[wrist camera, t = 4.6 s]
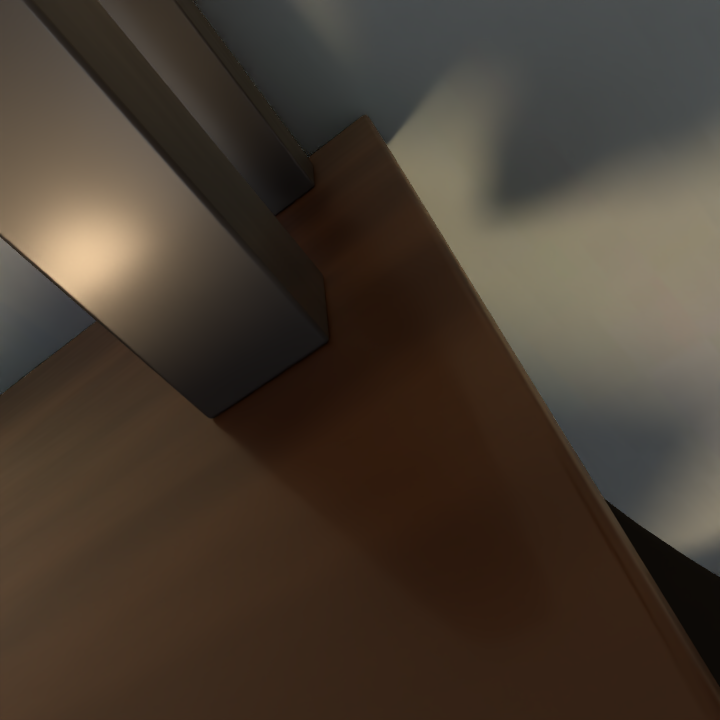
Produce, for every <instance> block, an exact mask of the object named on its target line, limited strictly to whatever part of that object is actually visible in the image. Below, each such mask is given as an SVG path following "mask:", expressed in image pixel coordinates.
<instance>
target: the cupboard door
mask: <svg viewBox="0 0 720 720" xmlns="http://www.w3.org/2000/svg"><path fill="white" fill-rule="evenodd" d="M0 237H1V238H2V239H3V240H4V241H5V242H7V243H8V244H9V245H10V246H11V247H12V248H13V249H15V250H16V251H17V252H18V253H19V254H20V255H21V256H23V257H24V258H25V259H26V260H27V261H28V262H30V263H31V264H32V265H33V266H34V267H35V268H36V269H38V270H39V271H40V272H41V273H42V274H43V275H44V276H46V277H47V278H48V279H49V280H50V281H51V282H53V283H54V284H55V285H56V286H57V287H58V288H59V289H61V290H62V291H63V292H64V293H65V294H66V295H67V296H69V297H70V298H71V299H72V300H73V301H74V302H75V303H77V304H78V305H79V306H80V307H81V308H82V309H84V310H85V311H86V312H87V313H88V314H89V315H90V316H92V317H93V318H94V319H95V320H96V322H95V323H93V324H92V325H91V326H89V327H88V328H87V329H86V330H84V331H83V332H82V333H80V334H79V335H78V336H77V337H75V338H74V339H73V340H71V341H70V342H69V343H67V344H66V345H65V346H64V347H62V348H61V349H60V350H58V351H57V352H56V353H55V354H53V355H52V356H51V357H49V358H48V359H47V360H45V361H44V362H43V363H42V364H40V365H39V366H38V367H36V368H35V369H34V370H32V371H31V372H30V373H29V374H27V375H26V376H25V377H23V378H22V379H21V380H20V381H18V382H17V383H16V384H14V385H13V386H12V387H10V388H9V389H8V390H7V391H5V392H4V393H3V394H1V395H0V720H720V687H719V685H718V684H717V682H716V680H715V679H714V677H713V675H712V674H711V672H710V671H709V669H708V667H707V666H706V664H705V662H704V661H703V659H702V658H701V656H700V654H699V653H698V651H697V649H696V648H695V646H694V645H693V643H692V641H691V640H690V638H689V636H688V635H687V633H686V631H685V630H684V628H683V627H682V625H681V623H680V622H679V620H678V618H677V617H676V615H675V614H674V612H673V610H672V609H671V607H670V605H669V604H668V602H667V601H666V599H665V597H664V596H663V594H662V592H661V591H660V589H659V588H658V586H657V584H656V583H655V581H654V579H653V578H652V576H651V574H650V573H649V571H648V570H647V568H646V566H645V565H644V563H643V561H642V560H641V558H640V557H639V555H638V553H637V552H636V550H635V548H634V547H633V545H632V544H631V542H630V540H629V539H628V537H627V535H626V534H625V532H624V531H623V529H622V527H621V526H620V524H619V522H618V521H617V519H616V517H615V516H614V514H613V513H612V511H611V509H610V508H609V506H608V504H607V503H606V501H605V500H604V498H603V496H602V495H601V493H600V491H599V490H598V488H597V487H596V485H595V483H594V482H593V480H592V478H591V477H590V475H589V474H588V472H587V470H586V469H585V467H584V465H583V464H582V462H581V460H580V459H579V457H578V456H577V454H576V452H575V451H574V449H573V447H572V446H571V444H570V443H569V441H568V439H567V438H566V436H565V434H564V433H563V431H562V430H561V428H560V426H559V425H558V423H557V421H556V420H555V418H554V417H553V415H552V413H551V412H550V410H549V408H548V407H547V405H546V403H545V402H544V400H543V399H542V397H541V395H540V394H539V392H538V390H537V389H536V387H535V386H534V384H533V382H532V381H531V379H530V377H529V376H528V374H527V373H526V371H525V369H524V368H523V366H522V364H521V363H520V361H519V360H518V358H517V356H516V355H515V353H514V351H513V350H512V348H511V346H510V345H509V343H508V342H507V340H506V338H505V337H504V335H503V333H502V332H501V330H500V329H499V327H498V325H497V324H496V322H495V320H494V319H493V317H492V316H491V314H490V312H489V311H488V309H487V307H486V306H485V304H484V303H483V301H482V299H481V298H480V296H479V294H478V293H477V291H476V289H475V288H474V286H473V285H472V283H471V281H470V280H469V278H468V276H467V275H466V273H465V272H464V270H463V268H462V267H461V265H460V263H459V262H458V260H457V259H456V257H455V255H454V254H453V252H452V250H451V249H450V247H449V246H448V244H447V242H446V241H445V239H444V237H443V236H442V234H441V232H440V231H439V229H438V228H437V226H436V224H435V223H434V221H433V219H432V218H431V216H430V215H429V213H428V211H427V210H426V208H425V206H424V205H423V203H422V202H421V200H420V198H419V197H418V195H417V193H416V192H415V190H414V189H413V187H412V185H411V184H410V182H409V180H408V179H407V177H406V175H405V174H404V172H403V171H402V169H401V167H400V166H399V164H398V162H397V161H396V159H395V158H394V156H393V154H392V153H391V151H390V149H389V148H388V146H387V145H386V143H385V141H384V140H383V138H382V137H381V135H380V134H379V132H378V131H377V129H376V128H375V126H374V125H373V123H372V121H371V120H370V118H369V117H368V116H367V115H363V116H362V117H360V118H359V119H358V120H356V121H355V122H354V123H353V124H351V125H350V126H349V127H347V128H346V129H345V130H344V131H342V132H341V133H340V134H338V135H337V136H336V137H334V138H333V139H332V140H331V141H329V142H328V143H327V144H325V145H324V146H323V147H321V148H320V149H319V150H318V151H316V152H315V153H314V154H312V155H311V156H310V157H309V158H308V157H307V155H306V154H305V153H304V151H303V150H302V149H301V147H300V146H299V144H298V143H297V142H296V140H295V139H294V138H293V136H292V135H291V134H290V132H289V131H288V130H287V128H286V127H285V125H284V124H283V123H282V121H281V120H280V119H279V117H278V116H277V115H276V113H275V112H274V111H273V109H272V108H271V106H270V105H269V104H268V102H267V101H266V100H265V98H264V97H263V96H262V94H261V93H260V92H259V90H258V89H257V87H256V86H255V85H254V83H253V82H252V81H251V79H250V78H249V77H248V75H247V74H246V73H245V71H244V70H243V68H242V67H241V66H240V64H239V63H238V62H237V60H236V59H235V58H234V56H233V55H232V54H231V52H230V51H229V49H228V48H227V47H226V45H225V44H224V43H223V41H222V40H221V39H220V37H219V36H218V35H217V33H216V32H215V30H214V29H213V28H212V26H211V25H210V24H209V22H208V21H207V20H206V18H205V17H204V16H203V14H202V13H201V11H200V10H199V9H198V7H197V6H196V5H195V3H194V2H193V1H192V0H0Z"/></svg>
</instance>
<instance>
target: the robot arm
mask: <svg viewBox="0 0 720 720" xmlns="http://www.w3.org/2000/svg"><path fill="white" fill-rule="evenodd" d="M604 500H605V499H604ZM605 501H606V503H607V504H608V506H609V508H610V509H611V511H612V513H613V514H614V516H615V517H616V519H617V521H618V522H619V524H620V526H621V527H622V529H623V531H624V532H625V534H626V535H627V537H628V539H629V540H630V542H631V544H632V545H633V547H634V548H635V550H636V552H637V553H638V555H639V557H640V558H641V560H642V561H643V563H644V565H645V566H646V568H647V570H648V571H649V573H650V574H651V576H652V578H653V579H654V581H655V583H656V584H657V586H658V588H659V589H660V591H661V592H662V594H663V596H664V597H665V599H666V601H667V602H668V604H669V605H670V607H671V609H672V610H673V612H674V614H675V615H676V617H677V618H678V620H679V622H680V623H681V625H682V627H683V628H684V630H685V631H686V633H687V635H688V636H689V638H690V640H691V641H692V643H693V645H694V646H695V648H696V649H697V651H698V653H699V654H700V656H701V658H702V659H703V661H704V662H705V664H706V666H707V667H708V669H709V671H710V672H711V674H712V675H713V677H714V679H715V680H716V682H717V684H718V685H719V687H720V577H719V576H717V575H715V574H714V573H712V572H710V571H709V570H707V569H705V568H704V567H702V566H701V565H699V564H697V563H696V562H694V561H693V560H691V559H689V558H688V557H686V556H685V555H683V554H682V553H680V552H679V551H677V550H676V549H674V548H673V547H671V546H670V545H668V544H667V543H665V542H664V541H662V540H661V539H659V538H658V537H656V536H655V535H653V534H652V533H650V532H649V531H647V530H646V529H644V528H643V527H641V526H640V525H639V524H637V523H636V522H634V521H633V520H632V519H630V518H629V517H628V516H626V515H625V514H624V513H622V512H621V511H620V510H618V509H617V508H616V507H614V506H613V505H612V504H611V503H609V502H608V501H607V500H605Z"/></svg>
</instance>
